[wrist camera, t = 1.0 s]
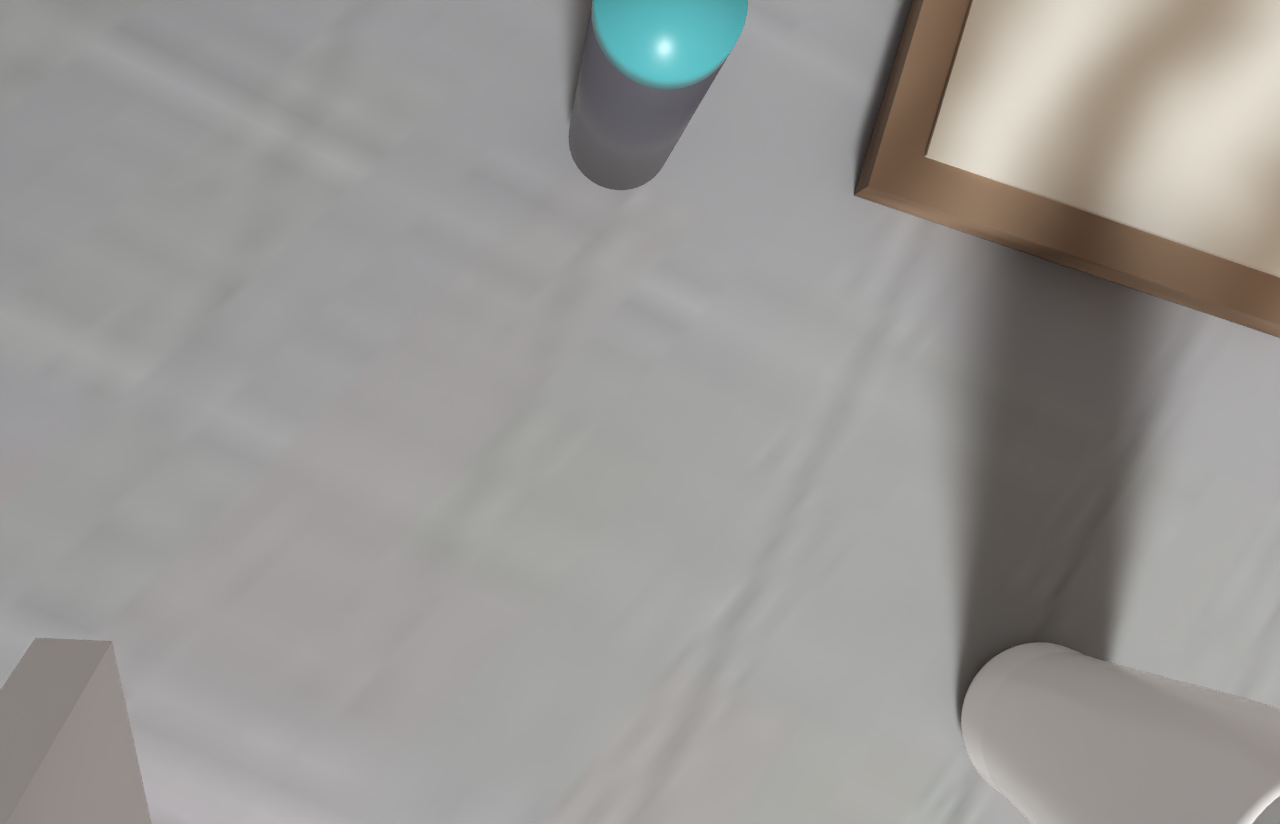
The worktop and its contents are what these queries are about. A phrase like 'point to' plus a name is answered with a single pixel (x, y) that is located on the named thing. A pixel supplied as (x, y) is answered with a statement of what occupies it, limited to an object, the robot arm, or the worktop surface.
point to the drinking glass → (1118, 743)
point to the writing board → (1097, 140)
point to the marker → (645, 82)
